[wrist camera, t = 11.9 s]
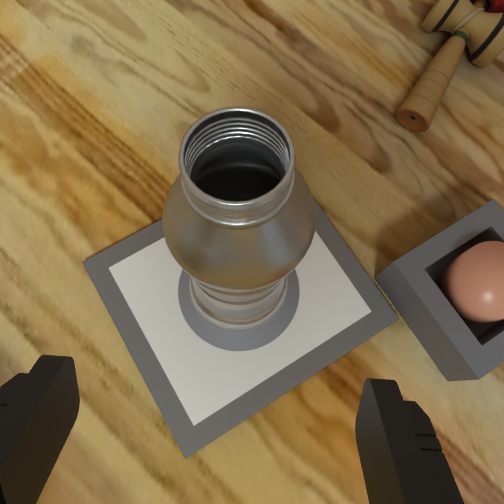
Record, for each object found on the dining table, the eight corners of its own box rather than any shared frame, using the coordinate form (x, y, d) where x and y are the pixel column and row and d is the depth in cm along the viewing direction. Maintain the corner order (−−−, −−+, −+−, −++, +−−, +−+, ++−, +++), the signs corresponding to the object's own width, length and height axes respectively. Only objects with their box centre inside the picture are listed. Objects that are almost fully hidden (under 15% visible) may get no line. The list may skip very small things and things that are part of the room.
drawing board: (281, 157, 38) (282, 151, 37) (396, 320, 34) (400, 318, 33) (84, 264, 34) (80, 261, 34) (186, 457, 31) (184, 459, 30)
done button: (479, 242, 33) (502, 227, 30) (526, 300, 31) (554, 290, 28) (425, 276, 32) (444, 265, 29) (471, 337, 30) (495, 332, 28)
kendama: (449, 160, 40) (535, 1, 42) (467, 121, 34) (565, -61, 36) (369, 128, 42) (454, -20, 44) (372, 86, 36) (470, -82, 39)
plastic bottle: (187, 259, 34) (117, 84, 15) (274, 243, 34) (316, 56, 15) (200, 344, 32) (139, 270, 13) (293, 326, 32) (366, 230, 13)
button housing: (463, 221, 36) (493, 199, 32) (539, 316, 34) (582, 305, 30) (374, 277, 35) (393, 261, 30) (447, 381, 32) (479, 379, 28)
